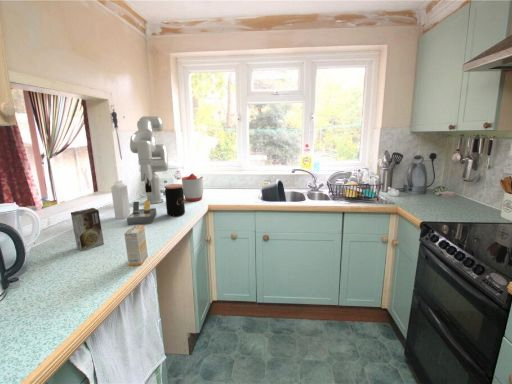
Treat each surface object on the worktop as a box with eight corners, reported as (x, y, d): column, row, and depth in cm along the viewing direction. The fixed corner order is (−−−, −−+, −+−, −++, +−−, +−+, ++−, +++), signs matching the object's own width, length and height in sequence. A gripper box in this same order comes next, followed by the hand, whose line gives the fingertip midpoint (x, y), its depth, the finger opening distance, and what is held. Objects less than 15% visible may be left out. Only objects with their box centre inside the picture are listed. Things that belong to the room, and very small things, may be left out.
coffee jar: (180, 217, 157) (177, 187, 154) (163, 216, 159) (160, 187, 156) (188, 212, 168) (186, 184, 164) (172, 211, 170) (170, 183, 166)
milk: (115, 218, 158) (109, 182, 153) (122, 215, 163) (117, 180, 159) (124, 219, 156) (118, 182, 152) (131, 216, 162) (126, 180, 157)
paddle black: (133, 213, 154) (133, 202, 156) (139, 213, 154) (139, 202, 156) (132, 212, 152) (133, 201, 154) (138, 212, 153) (138, 201, 155)
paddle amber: (144, 212, 155) (144, 201, 157) (150, 212, 155) (150, 201, 157) (143, 212, 153) (144, 201, 155) (149, 211, 154) (149, 200, 156)
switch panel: (135, 215, 162) (135, 209, 161) (156, 214, 164) (155, 207, 163) (127, 225, 145) (126, 217, 144) (151, 223, 147) (150, 216, 146)
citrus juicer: (210, 198, 205) (208, 172, 201) (193, 203, 191) (191, 175, 186) (195, 196, 213) (193, 171, 209) (178, 200, 199) (176, 174, 195)
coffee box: (98, 241, 124) (93, 207, 120) (104, 244, 119) (99, 209, 116) (76, 247, 117) (70, 212, 113) (81, 251, 113) (75, 214, 109)
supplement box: (135, 256, 106) (131, 225, 104) (148, 256, 107) (144, 224, 104) (127, 266, 98) (123, 233, 95) (141, 265, 99) (137, 232, 96)
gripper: (141, 161, 165) (144, 190, 169) (135, 163, 151) (139, 194, 154) (154, 160, 167) (157, 189, 170) (149, 162, 152) (153, 194, 156)
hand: (148, 192), depth 162 cm, fingers closed
